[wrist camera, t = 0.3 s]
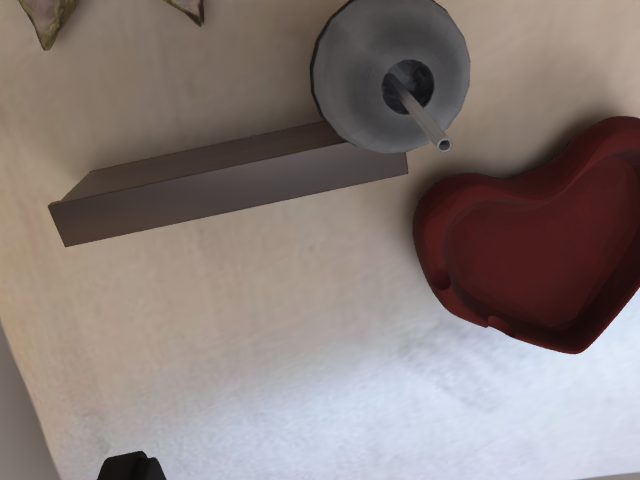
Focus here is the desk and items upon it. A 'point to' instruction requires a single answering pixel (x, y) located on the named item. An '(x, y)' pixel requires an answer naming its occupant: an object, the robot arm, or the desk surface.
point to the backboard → (216, 181)
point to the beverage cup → (390, 74)
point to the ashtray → (540, 241)
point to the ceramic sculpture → (58, 4)
